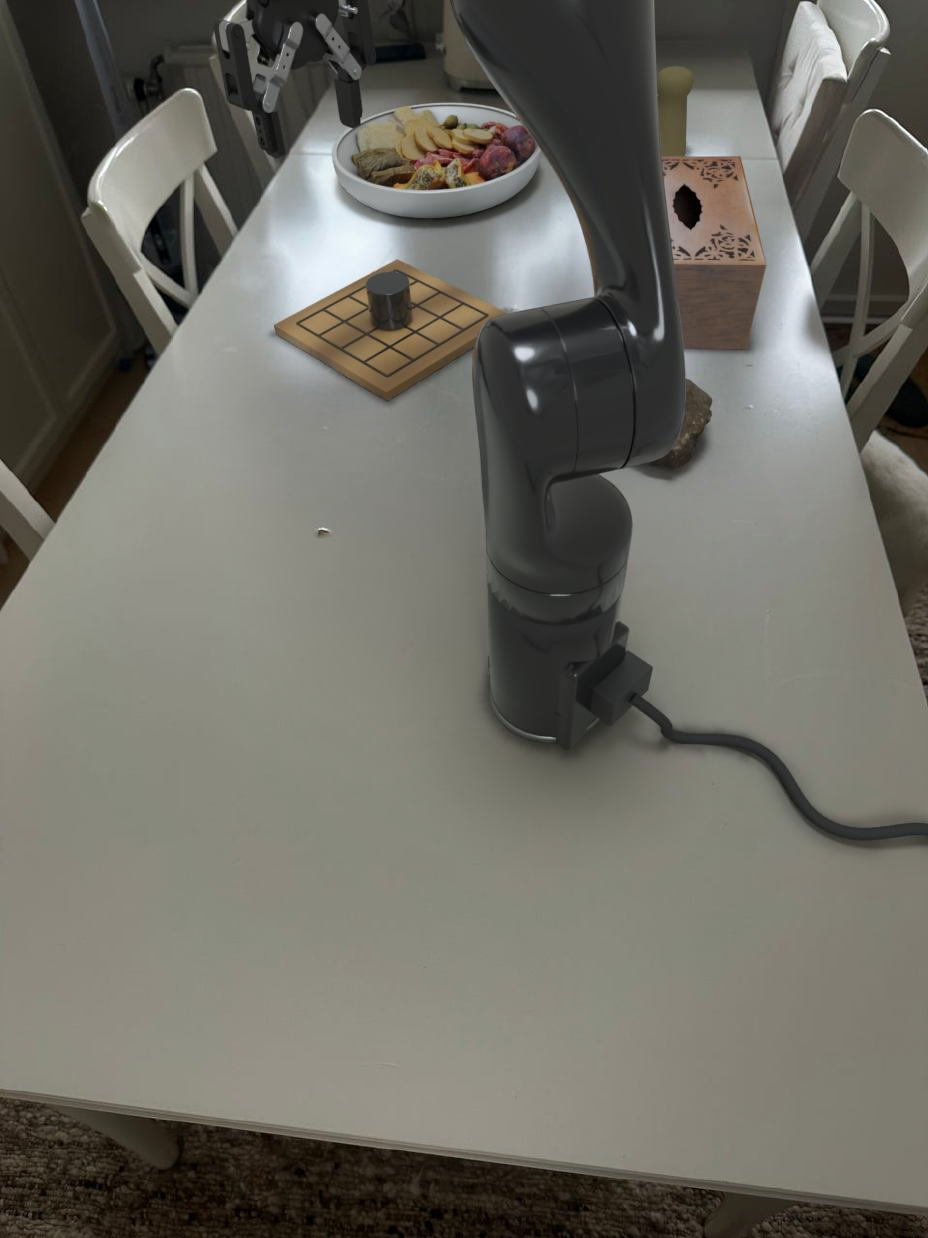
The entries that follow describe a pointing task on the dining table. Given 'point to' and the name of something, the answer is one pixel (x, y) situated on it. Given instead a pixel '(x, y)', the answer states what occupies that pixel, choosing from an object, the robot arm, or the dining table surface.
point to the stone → (688, 427)
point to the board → (389, 332)
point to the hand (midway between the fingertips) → (314, 139)
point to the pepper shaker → (673, 109)
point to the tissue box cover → (713, 249)
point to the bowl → (436, 159)
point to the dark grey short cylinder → (389, 300)
